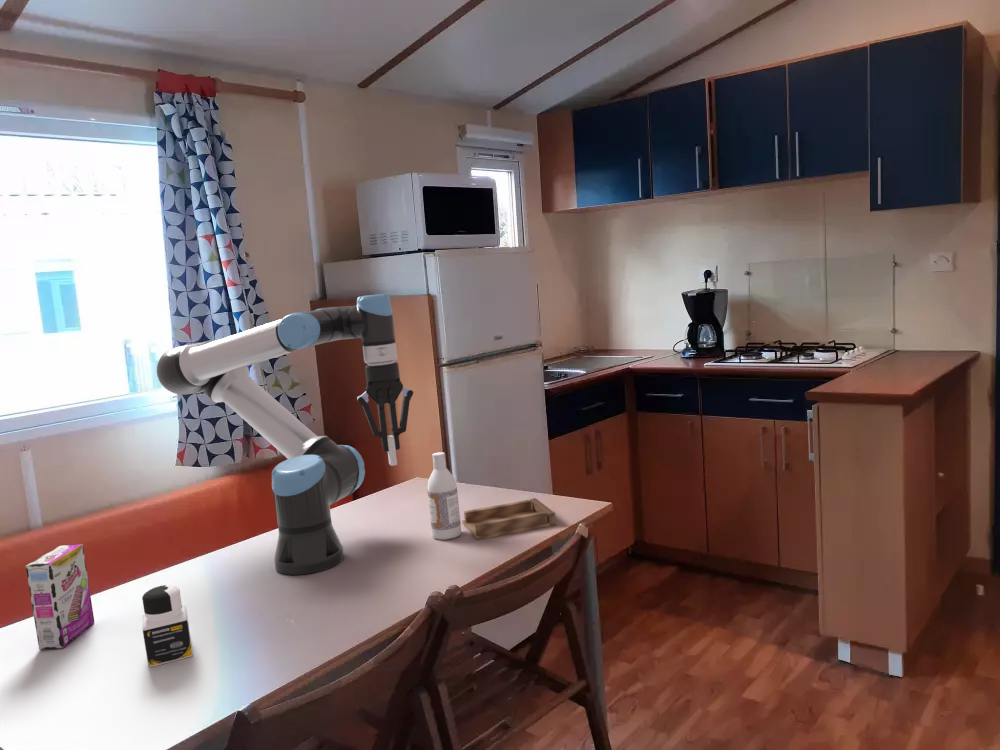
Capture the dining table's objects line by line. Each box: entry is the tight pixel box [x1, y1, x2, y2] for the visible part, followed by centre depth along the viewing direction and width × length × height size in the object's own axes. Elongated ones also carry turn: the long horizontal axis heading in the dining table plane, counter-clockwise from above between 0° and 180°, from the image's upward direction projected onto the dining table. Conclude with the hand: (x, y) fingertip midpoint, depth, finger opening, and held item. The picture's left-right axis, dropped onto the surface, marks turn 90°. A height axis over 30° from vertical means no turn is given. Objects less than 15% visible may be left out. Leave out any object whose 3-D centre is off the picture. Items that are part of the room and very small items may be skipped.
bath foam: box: [427, 451, 462, 541], centre depth 188 cm, size 7×7×20 cm
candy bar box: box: [25, 543, 95, 651], centre depth 151 cm, size 11×5×16 cm, turn 178°
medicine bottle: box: [141, 584, 194, 668], centre depth 139 cm, size 7×7×12 cm
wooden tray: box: [462, 497, 557, 541], centre depth 193 cm, size 20×14×3 cm
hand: (393, 464), depth 183 cm, fingers closed
